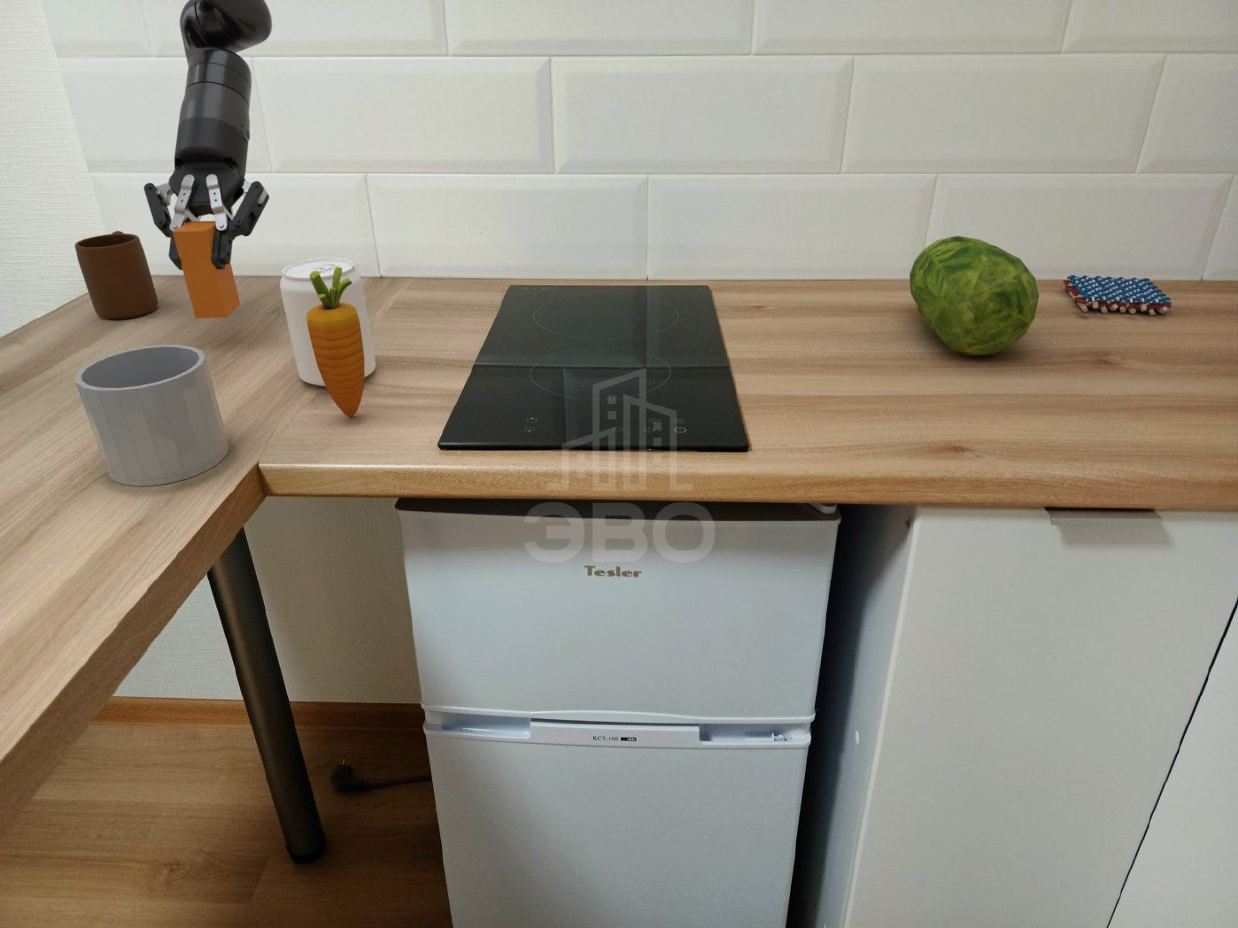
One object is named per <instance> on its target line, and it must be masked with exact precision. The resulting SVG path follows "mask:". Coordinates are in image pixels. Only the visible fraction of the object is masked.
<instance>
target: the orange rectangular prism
mask: <svg viewBox="0 0 1238 928" xmlns="http://www.w3.org/2000/svg"><path fill="white" fill-rule="evenodd" d="M214 232H217V228H216V223H215V220H200V221H189V222H188V223H186V224H184V225H183V226H181V227H179V228H177V229H176V230H174V231H173V235H174V239H175V243H176V247H177V251H178V254H179V258H180V262H181V266H182V269H183V270H182V272H183V277H184V281H185V284H186V288H187V292H188V295H189V299H190V303H191V307H192V310H193V314H194V318H195V319H218V318H219V319H224V318H226V319H227V318H228V317H229V316H230V315H231V314H232V313H233V312H235V310H236V309H237V308H239V307H240V306H241V301H240V297H239V293H238V289H237V288H238V287H237V285H236V280H235V276H234V272H233V267H232V263H231V262H230V263H229V264H226V267H225V269H219V270H218V269H217V268H216V267H215V266H214V265H213V264H212V262H211V255H212V245H213V236H214Z"/></svg>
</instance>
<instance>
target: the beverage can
mask: <svg viewBox="0 0 1238 928" xmlns="http://www.w3.org/2000/svg"><path fill="white" fill-rule="evenodd" d="M336 267H340V268H342V273H341V277H340V282H341V281H342V280H344V279H346V278H348V279H350V280H351V281H352V284H351V285H349V286H347V287H346V288H345V290H344V291H343V293H342V295H341V298H340V301H339V302H340V303H347V304H350V305H352V306H353V307H355V309H356V311H357V314H358V318H359V321H360V328H361V335H362V342H363V351H364V378H366V377H368V376H369V375H371V374H372V373H373V372H374V371H375V369H376V367H377V364H376V363H377V362H376V357H375V352H374V351H375V350H374V346H373V340H372V332H371V327H370V321H369V315H368V309H367V304H366V297H365V292H364V285H363V280H362V276H361V274H360V272H359V270H358V269H356V267H355V263H354V262H353V261H352V260H350V259H347V258H341V257H319V258H310V259H309V258H308V259H304V260H299V261H296V262H293V263H290V264H288V265H286V266H285V267H283V268H282V269H281V274H282V276H281V278H280V281H279V289H280V294H281V300H282V303H283V309H284V313H285V317H286V322H287V326H288V331H289V336H290V341H291V345H292V351H293V354H294V359H295V363H296V368H297V373H298V377H299V378H300V379H301V380H302V381H303V382H305V383H307V384H311V385H315V386H318V387H325V388H326V386H325V384H324V381H323V379H322V376H321V374H320V371H319V369H318V366H317V363H316V359H315V355H314V351H313V347H312V343H311V339H310V335H309V330H308V325H307V313H308V312H309V310H310V309H312V308H314V307H316V306H318V305H321V304H322V302H321V300H320V298H319V297H318V294H317V293H316V291H315V289H314V286H313V284H312V281H311V279H310V274H311V273H312V272H313V271H318V273H319V274H320V277H321V279H322V280H323V282H324V283H325V285H326V286H327V288H328V290H329V292H330V288H331V287H332V281H333V274H334V270H335V268H336Z"/></svg>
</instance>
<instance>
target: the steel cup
mask: <svg viewBox="0 0 1238 928" xmlns="http://www.w3.org/2000/svg"><path fill="white" fill-rule="evenodd" d="M74 382H75V386H76V388H77V391H78V394H79V397H80V399H81V402H82V405H83V407H84V408H83V409H84V411H85V415H86V416H87V419H88V422H89V425H90V428H91V430H92V433H93V436H94V439H95V442H96V444H97V447H98V451H99V452H100V456H101V459H102V461H103V464H104V467H105V470H106V471H107V475H108V476H109V477H110V479H112V480H113V481H114V482H116V483H118V484H119V483H120V484H122V485H126V486H132V487H151V486H152V487H153V486H161V485H167V484H171V483H176V482H177V483H178V482H180V481H184V480H187V479H189V478H193V477H195V476H198V475H201V474H202V473H204V472H205V473H206V472H207V471H208V470H211V469H212V468H214V467H215V466H217V465H218V464H220V462H222V461H223V460H224V459H225V458H226V456H227V455H228V453H229V450H230V445H229V439H228V435H227V433H226V428H225V425H224V421H223V416H222V414H221V410H220V407H219V406H220V405H219V401H218V399H217V394H216V392H215V391H216V390H215V387H214V383H213V380H212V376H211V373H210V369H209V365H208V362H207V358H206V355H205V353H204V351H203V350H201V349H199V348H196V347H195V346H190V345H189V346H188V345H184V344H157V345H147V346H141V347H136V348H135V347H134V348H130V349H129V348H128V349H125V350H121V351H118V352H114V353H111V354H107V355H105V356H103V357H100V358H98V359H95V360H93V361H91V362H89V363H88V364H86V365H85V366H83V367H81V368H79V370H78V371H77V373H76V374H75V375H74Z"/></svg>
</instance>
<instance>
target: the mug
mask: <svg viewBox="0 0 1238 928" xmlns="http://www.w3.org/2000/svg"><path fill="white" fill-rule="evenodd" d="M74 248H75V253H76V258H77V261H78V265H79V268H80V271H81V274H82V277H83V280H84V283H85V286H86V289H87V292H88V294H89V297H90V301H91V304H92V307H93V309H94V311H95V314H96V315H97V316H98V317H99V318H102V319H106V320H127V319H132V318H138V317H141V316H144V315H148V314H150V313H152V312H153V311H155V310H156V309H157V308H158V306H159V299H158V295H157V292H156V288H155V284H154V282H153V277H152V274H151V270H150V266H149V263H148V260H147V257H146V253H145V249H144V246H143V245H142V242H141V240H140V237H139V236H138V235H137V234H133V233H125V232H123V231H121V230H115V231H113V232H112V233H109V234H108V233H107V234H102V235H95V236H92V237H88V238H87V237H86V238H84V239H81V240H78V241H77V242H76V243H74Z"/></svg>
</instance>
